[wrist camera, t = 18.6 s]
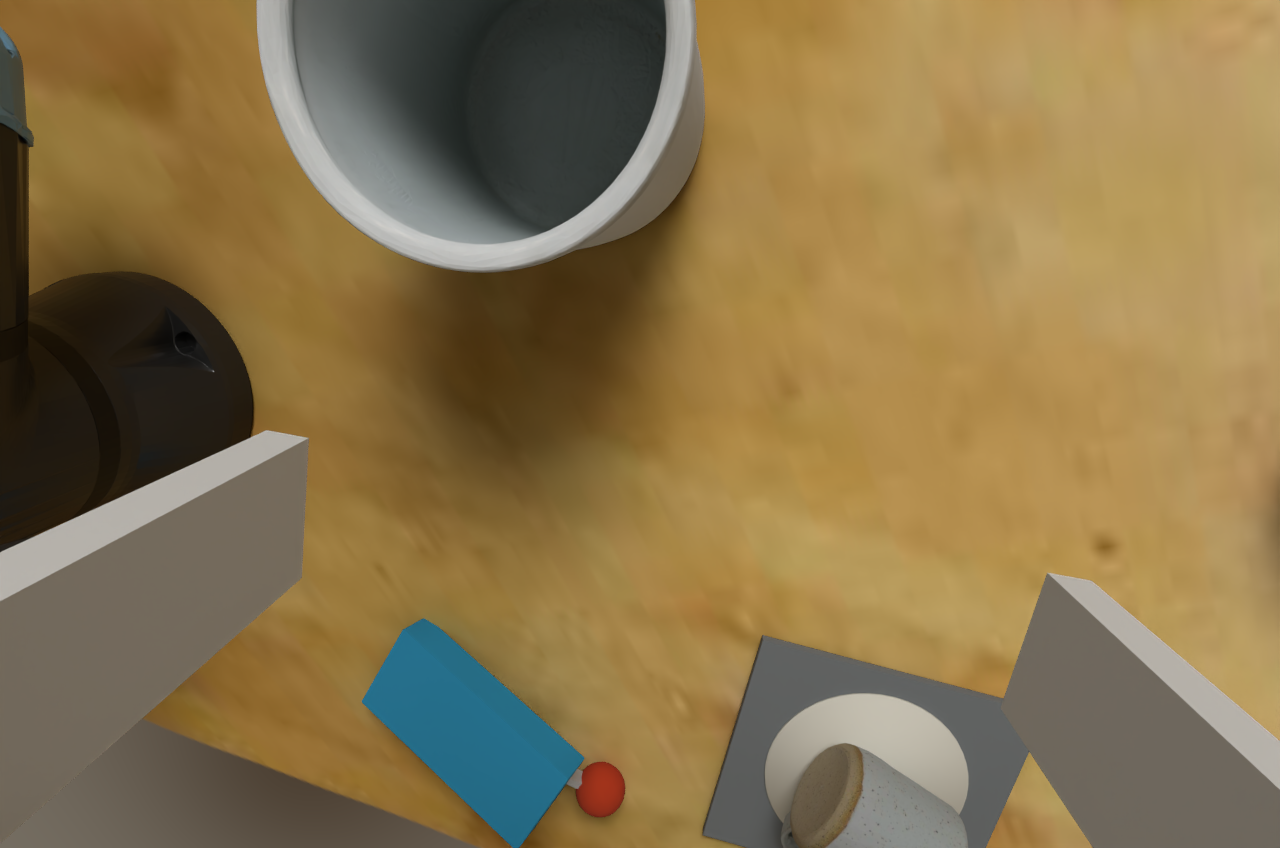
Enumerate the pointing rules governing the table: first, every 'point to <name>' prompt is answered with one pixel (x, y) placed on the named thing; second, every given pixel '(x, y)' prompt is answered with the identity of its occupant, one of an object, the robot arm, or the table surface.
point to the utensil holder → (488, 119)
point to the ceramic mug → (866, 807)
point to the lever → (482, 736)
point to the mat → (858, 740)
